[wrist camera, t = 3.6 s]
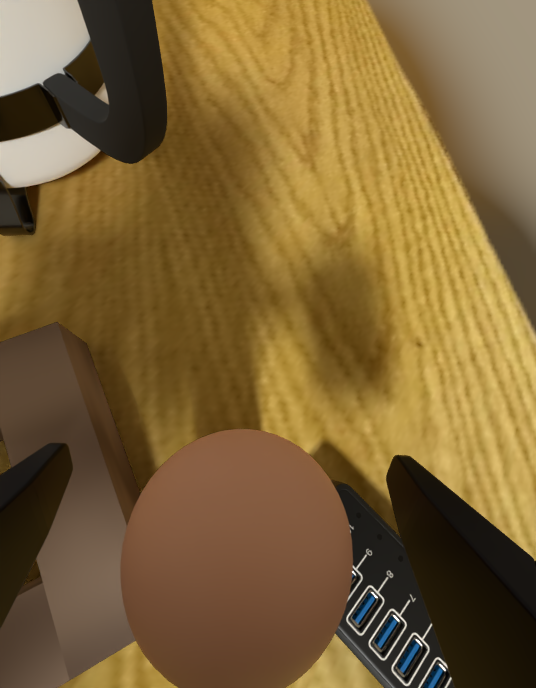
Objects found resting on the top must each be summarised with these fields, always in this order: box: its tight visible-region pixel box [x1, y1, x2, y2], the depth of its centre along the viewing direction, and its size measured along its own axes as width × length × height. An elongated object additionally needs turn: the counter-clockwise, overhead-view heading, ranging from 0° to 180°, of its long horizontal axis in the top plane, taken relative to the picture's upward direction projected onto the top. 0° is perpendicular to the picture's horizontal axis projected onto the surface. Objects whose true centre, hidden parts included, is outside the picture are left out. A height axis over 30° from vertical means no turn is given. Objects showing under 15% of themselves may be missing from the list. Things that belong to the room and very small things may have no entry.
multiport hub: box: [331, 480, 455, 688], centre depth 14 cm, size 4×14×2 cm, turn 45°
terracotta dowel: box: [120, 429, 353, 688], centre depth 9 cm, size 3×3×13 cm
